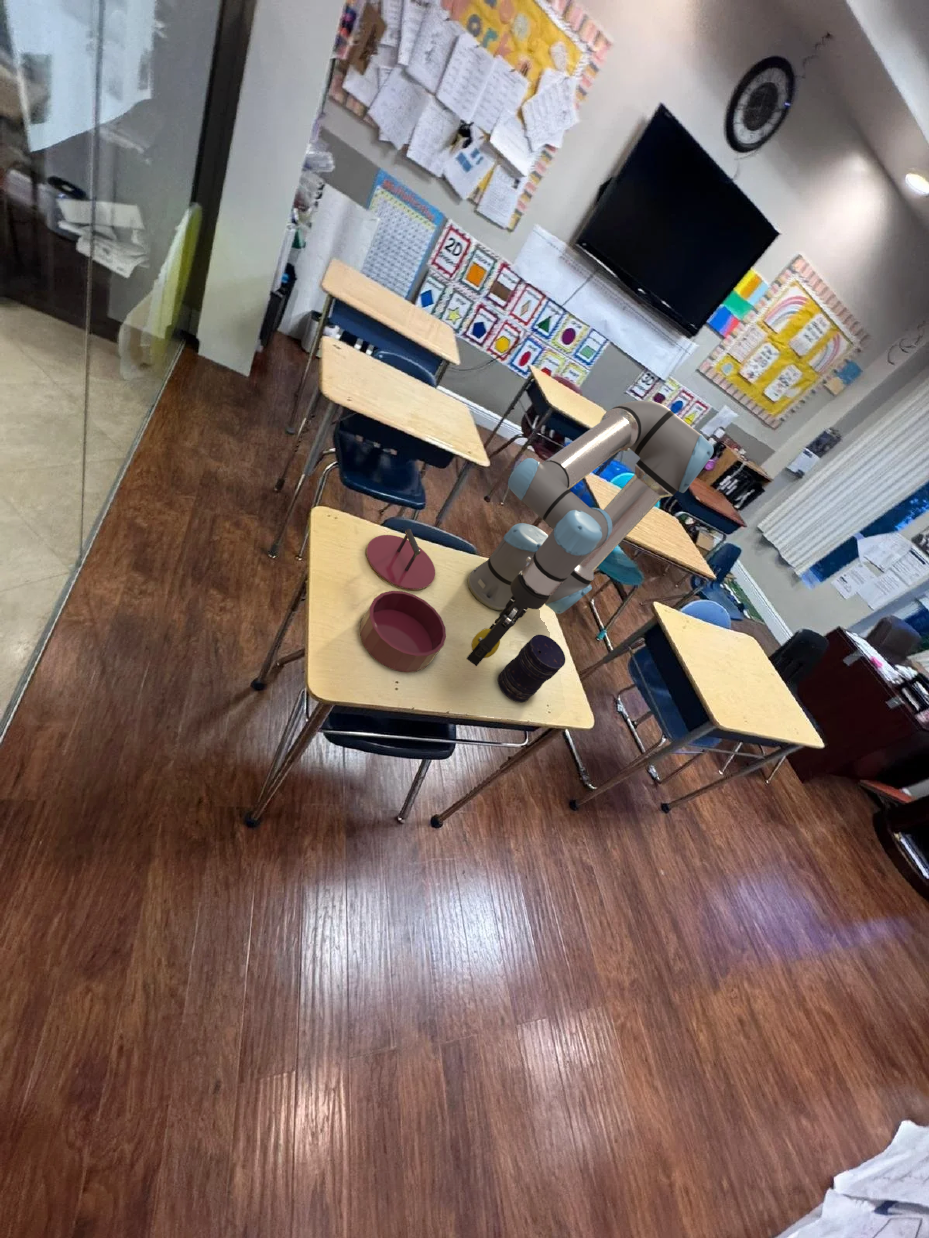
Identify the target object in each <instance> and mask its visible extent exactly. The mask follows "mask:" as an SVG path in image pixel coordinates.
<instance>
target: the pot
mask: <svg viewBox="0 0 929 1238" xmlns="http://www.w3.org/2000/svg"><path fill="white" fill-rule="evenodd" d="M359 634H360V639H361V642H362V644H363V646H364V648H365V649H366V651H367V652H368V653H369V655H370V656H371V657H372V658H373V659H374V660H375V661H377V662H378V663H379V664H381V665H382V666H385V668H389V669H391V670H394V671H397V672H403V673H415V672H419V671H421V670H423V669H425V668H426V667H427V666H429V665H430V664H431V662H433V660H434V659H435V658H436V656H437V655H438V654H439V652H440V651H441V649H443V647H444V645H445V642H446V639H447V629H446V625H445V623H444V621H443V619H442V616H441V615H440V614H439V613H438V611H437V610H436V609H435V608H434V606H432V605H431V604H430V603H428V602H427V601H426V600H425V599H423V598H421V597H419V596H418V595H416V594H413V593H410V592H407V591H403V590H389V591H385V592H382V593H380V594H378V595H376V597H374V598H373V600H372V602H371V603H370V606H369V607H368V609H367V611H366V613H365V614H364V616H363V618H362V620H361V622H360V626H359Z"/></svg>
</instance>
